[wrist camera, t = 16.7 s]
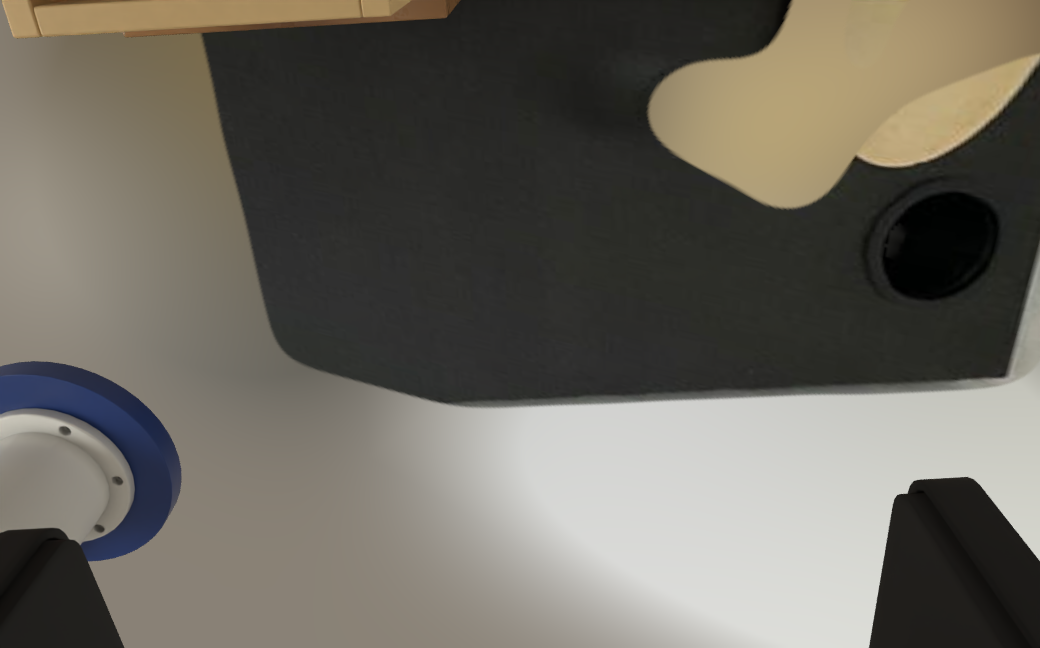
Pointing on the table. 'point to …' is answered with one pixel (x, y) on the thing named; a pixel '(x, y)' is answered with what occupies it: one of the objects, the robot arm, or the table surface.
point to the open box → (175, 14)
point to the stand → (424, 4)
